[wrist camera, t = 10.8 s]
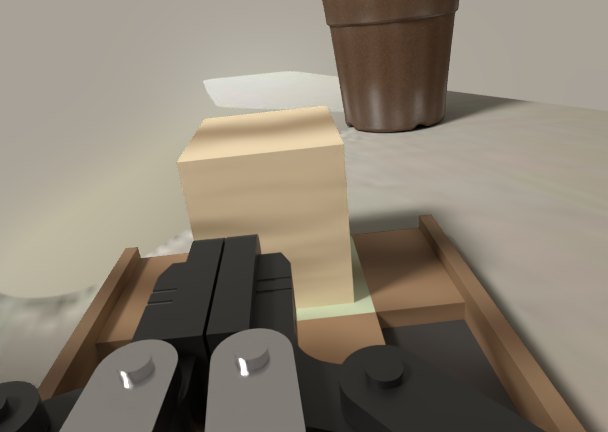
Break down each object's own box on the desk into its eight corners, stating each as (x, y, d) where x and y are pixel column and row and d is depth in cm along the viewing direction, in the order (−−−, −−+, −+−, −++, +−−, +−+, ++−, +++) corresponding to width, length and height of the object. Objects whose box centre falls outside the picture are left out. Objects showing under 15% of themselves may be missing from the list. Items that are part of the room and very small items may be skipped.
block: (354, 302, 23) (343, 144, 19) (211, 318, 23) (176, 162, 19) (336, 229, 30) (326, 105, 27) (227, 241, 30) (204, 118, 27)
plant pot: (314, 140, 54) (300, -15, 47) (340, 108, 68) (332, -15, 61) (463, 137, 50) (470, -35, 43) (458, 103, 64) (463, -30, 57)
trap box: (788, 812, 9) (828, 769, 8) (-212, 926, 9) (-278, 895, 8) (430, 243, 30) (431, 214, 29) (133, 276, 30) (125, 248, 29)
